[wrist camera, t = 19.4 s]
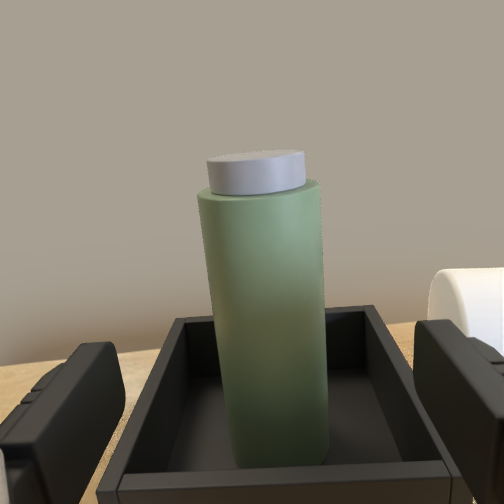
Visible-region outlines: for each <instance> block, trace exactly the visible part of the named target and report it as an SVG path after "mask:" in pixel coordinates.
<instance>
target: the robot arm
mask: <svg viewBox="0 0 504 504" xmlns="http://www.w3.org/2000/svg"><path fill="white" fill-rule="evenodd" d="M413 380H414V386H415V390H416V393H417V396H418V398H419V400H420V402H421V403H422V405H423V407H424V409H425V411H426V412H427V414H428V416H429V418H430V420H431V421H432V423H433V425H434V427H435V429H436V430H437V432H438V434H439V436H440V438H441V439H442V441H443V443H444V445H445V447H446V448H447V450H448V452H449V454H450V456H451V457H452V459H453V461H454V463H455V465H456V466H457V468H458V470H459V472H460V473H461V475H462V477H463V479H464V481H465V482H466V484H467V486H468V488H469V490H470V491H471V493H472V495H473V497H474V499H475V500H476V502H477V504H504V357H503V356H502V355H501V354H500V353H499V352H498V351H497V350H496V349H495V348H494V347H492V346H490V345H488V344H486V343H484V342H483V341H481V340H479V339H477V338H475V337H466V336H465V335H464V334H463V333H462V332H461V331H460V330H459V328H458V327H457V326H456V325H455V324H454V323H453V322H452V321H451V320H449V319H439V320H423V321H417V323H416V325H415V335H414V359H413ZM125 398H126V397H125V388H124V383H123V379H122V375H121V370H120V366H119V361H118V357H117V353H116V349H115V346H114V344H113V343H112V342H94V343H82V344H80V345H79V346H78V348H77V349H76V350H75V351H74V352H73V354H72V355H71V356H70V357H69V358H68V360H67V361H66V362H65V363H61V364H60V365H58V366H57V367H55V368H54V369H52V370H51V371H49V372H48V373H46V374H45V375H44V376H43V377H42V378H41V379H40V380H39V381H38V382H37V383H36V385H35V386H34V387H33V388H32V389H31V393H28V394H27V395H26V396H25V397H24V398H23V399H22V400H21V403H20V405H17V406H16V407H15V408H14V410H13V411H12V412H11V413H10V414H9V415H8V416H7V418H6V419H5V420H4V421H3V422H2V423H1V424H0V504H79V502H80V500H81V498H82V496H83V494H84V492H85V490H86V488H87V486H88V484H89V482H90V480H91V478H92V476H93V474H94V472H95V470H96V468H97V466H98V464H99V461H100V459H101V457H102V455H103V453H104V451H105V449H106V447H107V445H108V443H109V441H110V439H111V437H112V435H113V433H114V431H115V429H116V427H117V425H118V423H119V421H120V419H121V417H122V414H123V412H124V408H125Z"/></svg>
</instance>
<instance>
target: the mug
mask: <svg viewBox="0 0 504 504" xmlns="http://www.w3.org/2000/svg"><path fill="white" fill-rule="evenodd" d="M439 319H449V320H451V321H452V322H453V323H454V324H455V325H456V326H457V327H458V328H459V330H460V331H461V332H462V333H463V334H464V335H465V336H466V337H475V338H477V339H479V340H481V341H483V342H484V343H486V344H488V345H490V346H492V347H494V348H495V349H496V350H497V351H498V352H499V353H500V354H501V355H502V356H503V357H504V268H472V269H471V268H470V269H443V270H440V271H438V272H437V273H436V275H435V276H434V278H433V280H432V283H431V286H430V292H429V298H428V320H439Z"/></svg>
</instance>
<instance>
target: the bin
mask: <svg viewBox="0 0 504 504" xmlns="http://www.w3.org/2000/svg"><path fill="white" fill-rule="evenodd" d="M325 331H326V358H327V385H328V411H329V438H330V444H329V450H328V453H327V456H326V458H325V459H324V461H323V463H322V464H321V465H318V466H296V467H273V468H250V469H242V468H241V467H240V466H239V465H238V463H237V462H236V461H235V459H234V457H233V454H232V450H231V443H230V436H229V429H228V421H227V414H226V406H225V399H224V391H223V384H222V377H221V369H220V362H219V354H218V347H217V339H216V332H215V325H214V317H213V316H200V317H187V318H176V319H175V321H174V323H173V325H172V327H171V329H170V331H169V334H168V336H167V338H166V340H165V342H164V344H163V347H162V349H161V351H160V353H159V355H158V357H157V360H156V362H155V364H154V366H153V368H152V370H151V373H150V375H149V377H148V379H147V381H146V383H145V386H144V388H143V390H142V392H141V394H140V396H139V399H138V401H137V403H136V405H135V407H134V409H133V412H132V414H131V416H130V418H129V420H128V422H127V425H126V427H125V429H124V431H123V433H122V436H121V438H120V440H119V442H118V444H117V446H116V449H115V451H114V453H113V455H112V457H111V459H110V462H109V464H108V466H107V468H106V470H105V472H104V475H103V477H102V479H101V481H100V483H99V485H98V488H97V490H96V496H97V500H98V503H99V504H472V503H473V495H472V493H471V491H470V490H469V488H468V486H467V484H466V482H465V481H464V479H463V477H462V475H461V473H460V472H459V470H458V468H457V466H456V465H455V463H454V461H453V459H452V457H451V456H450V454H449V452H448V450H447V448H446V447H445V445H444V443H443V441H442V439H441V438H440V436H439V434H438V432H437V430H436V429H435V427H434V425H433V423H432V421H431V420H430V418H429V416H428V414H427V412H426V411H425V409H424V407H423V405H422V403H421V402H420V400H419V398H418V396H417V393H416V390H415V386H414V380H413V371H412V369H411V367H410V366H409V364H408V362H407V361H406V359H405V357H404V356H403V354H402V352H401V351H400V349H399V347H398V346H397V344H396V342H395V341H394V339H393V337H392V336H391V334H390V332H389V330H388V329H387V327H386V325H385V324H384V322H383V320H382V319H381V317H380V315H379V314H378V312H377V310H376V309H375V307H374V305H364V306H350V307H334V308H325Z"/></svg>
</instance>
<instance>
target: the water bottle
mask: <svg viewBox="0 0 504 504" xmlns="http://www.w3.org/2000/svg"><path fill="white" fill-rule="evenodd" d="M304 157H305V156H304V151H303V150H296V149H292V150H291V149H288V150H268V151H256V152H246V153H237V154H230V155H224V156H217V157H213V158H210V159H208V160H207V167H208V176H209V183H210V187H209V188H207V189H204V190H202V191H200V192H199V193H198V195H197V198H198V205H199V213H200V221H201V228H202V235H203V243H204V250H205V257H206V265H207V272H208V280H209V286H210V295H211V302H212V310H213V317H214V325H215V332H216V339H217V347H218V354H219V362H220V369H221V377H222V384H223V391H224V399H225V406H226V414H227V421H228V429H229V436H230V443H231V450H232V454H233V457H234V459H235V461H236V462H237V463H238V465H239V466H240V467H241V468H242V469H250V468H273V467H296V466H318V465H321V464H322V463H323V461H324V459H325V458H326V456H327V453H328V450H329V444H330V438H329V411H328V385H327V358H326V331H325V307H324V306H325V305H324V278H323V252H322V225H321V198H320V184H319V182H317V181H315V180H311V179H306V178H305V158H304Z"/></svg>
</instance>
